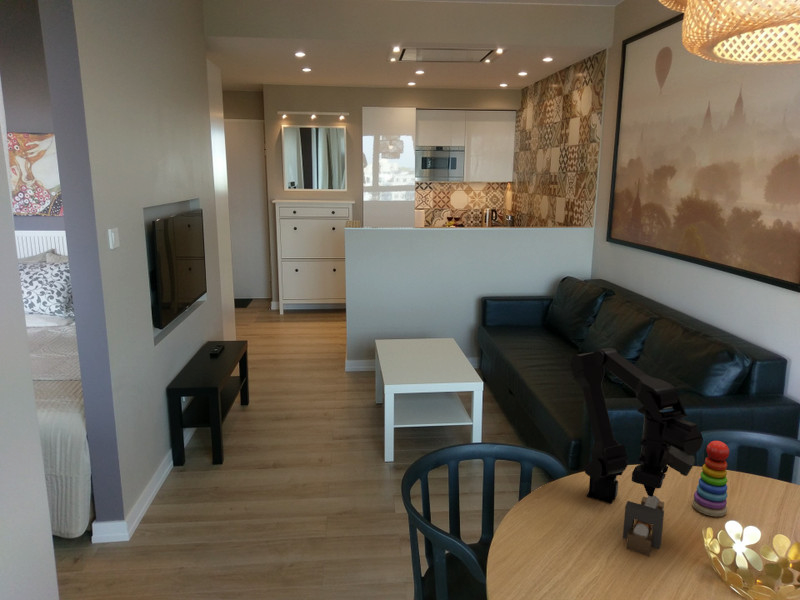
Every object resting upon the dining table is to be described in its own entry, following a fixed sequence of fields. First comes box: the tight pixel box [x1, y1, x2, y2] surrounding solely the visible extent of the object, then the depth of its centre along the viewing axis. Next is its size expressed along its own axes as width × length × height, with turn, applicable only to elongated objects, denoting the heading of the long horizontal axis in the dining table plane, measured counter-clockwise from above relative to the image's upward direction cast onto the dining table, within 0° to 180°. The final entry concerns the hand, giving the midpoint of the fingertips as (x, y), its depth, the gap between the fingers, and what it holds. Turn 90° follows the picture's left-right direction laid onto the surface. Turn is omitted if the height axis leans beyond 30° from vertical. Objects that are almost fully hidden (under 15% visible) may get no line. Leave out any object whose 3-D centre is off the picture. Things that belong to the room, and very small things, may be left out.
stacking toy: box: [691, 440, 730, 517], centre depth 144 cm, size 8×8×19 cm
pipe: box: [625, 494, 665, 557], centre depth 137 cm, size 18×5×6 cm, turn 147°
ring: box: [622, 500, 665, 550], centre depth 132 cm, size 2×8×8 cm, turn 57°
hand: (650, 495), depth 137 cm, fingers closed
